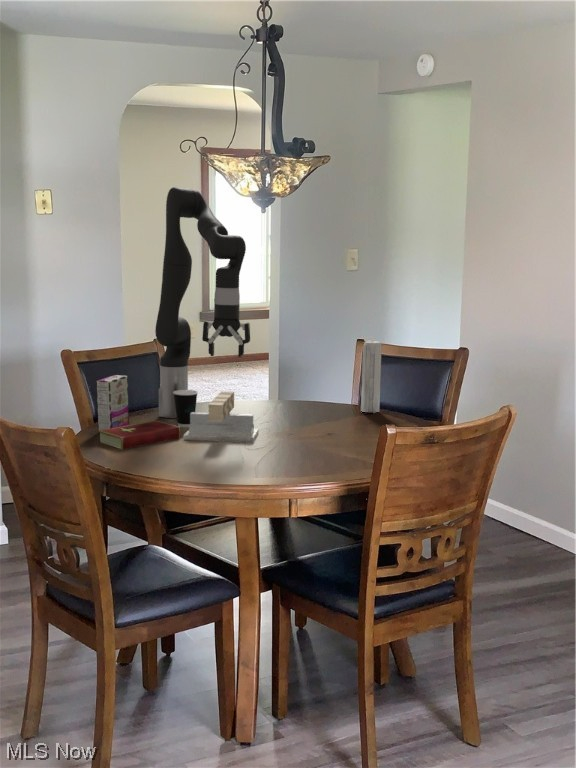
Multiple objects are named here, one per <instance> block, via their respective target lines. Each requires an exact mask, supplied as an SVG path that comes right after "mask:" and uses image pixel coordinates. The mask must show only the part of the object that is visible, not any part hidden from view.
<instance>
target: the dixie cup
mask: <svg viewBox="0 0 576 768" xmlns="http://www.w3.org/2000/svg"><path fill="white" fill-rule="evenodd" d="M173 394H174V399H175V407H176V416H177V418H176V423H177V425H178V426H179V427H180V428H189V424H190V413H191V412H196V407H197V398H198V394H199V392H198V391H197V390H193V389H188V390H177V391H174V392H173Z"/></svg>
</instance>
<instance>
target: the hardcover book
mask: <svg viewBox="0 0 576 768" xmlns="http://www.w3.org/2000/svg"><path fill="white" fill-rule="evenodd" d="M97 432H98V433H99V438H100V440H99V441H100V443H101V444H105V445H108V446H111V447H115V448H117V449H120V450H121V451H122V450H127V449H132V448H136V447H142V446H143V447H144V446H148V445H153V444H156V443H157V444H158V443H163V442H167V441H172V440H173V441H174V440H178V439H181V427H179V426H177V425H175V424H171V423H168V422H164V421H161V420H152V421H144V422H140V423H135V424H129V425H127V426H122V427H116V428H110V429H105V430H99V429H98V431H97Z"/></svg>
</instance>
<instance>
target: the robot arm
mask: <svg viewBox="0 0 576 768" xmlns="http://www.w3.org/2000/svg"><path fill="white" fill-rule="evenodd" d="M181 218H184V219H193V218H194V219H196V220H197V222H196V223H197V225H196V227H197V231H198V232H199V235H200V236H201V237H202V238H203V239H204V240H205V242H207V246H208V248H209V252H210V254H211V256H212V257H214V258H216V259H218V260H229V261H228V263H227V265H225V266H222V267H218V268H217V269H216V271H215V288H214V289H215V291H214V298H213V301H214V305H213V306H214V308H213V309H214V312H213V313H214V314H213V315H214V316H213V321H208V320H205V321H203V324H202V326H203V327H202V341H203V342H206V343H207V344H208V354H209V355H210V357H214V356H215V343H214V341H216V339H217V338H218V337H229V338H232V337H234V339H235V340H236V341H237V343H238V347H237V348H238V351H237V355H238V358H242V356H243V355H244V354H245V344H249V343H250V342H251V327H250V326H251V324H250V322H245V323H241V322H240V303H241V302H240V300H241V299H240V298H241V297H240V295H241V294H240V273H241V269H242V266H243V261H244V258H245V255H246V250H247V246H246V242H245V240H244V238H243V237H242V236H241V235H235V234H234V235H233V234H232V235H229V231H228V229H227V228H226V227H225V226H224V224H223V223H222V222H220V220H218V218H217V217H216V216H215V214H214V213H213V211H212V210H211V207H210V206H209V205H208V203H207V200H206V199H205V198H204V196H203V194H202V193H201V192H200V191H199V190H197V189H193V188H186V187H177V186H173V187H171V188H170V189H169V190H168V192H167V196H166V203H165V242H164V243H165V246H164V253H163V254H164V255H163V262H162V263H163V265H162V273H161V275H162V277H161V279H162V281H161V288H160V298H159V299H160V300H159V307H158V312H157V313H158V314H157V317H156V324H155V332H154V333H155V337H156V340H157V342H158V343H159V344H160V345H161V346H164V347H166V348H165V351H164V353H163V354H162V355H161V356H160V359H159V378H160V380H159V383H160V384H159V386H160V387H159V388H158V417H159V418H160V417H162V418H165V419H166V418H168V419H177V416H176V407H175V399H174V394H173V392H174V391H177V390H189V384H188V383H189V381H188V380H189V369H188V368H189V367H188V365H189V359H190V355H191V343H192V341H191V340H192V339H191V338H192V332H191V331H192V330H191V326H190V323H189V322H188V321H187V319H185V318H183V317H181V316H180V315H179V314H180V306H181V302H182V301H183V298H184V296H185V293H186V292H187V289H188V287H189V286H190V285H189V284H190V281H191V277H192V275H191V274H192V267H193V265H192V264H193V257H192V255H191V252H190V251H189V248H188V246H187V244H186V242H185V240H184V238H183V235H182V231H181ZM211 327H213V329H214V330H215V331H214V332H213V334H212V335H211V336H210V337H209V332H210V331H209V329H211ZM240 328H241V329H242V331H244V338H242V336H241V334H240V332H239V331H238V330H239V329H240Z"/></svg>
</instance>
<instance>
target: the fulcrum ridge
mask: <svg viewBox="0 0 576 768" xmlns="http://www.w3.org/2000/svg"><path fill="white" fill-rule="evenodd" d="M188 428H189V429H188V430H187V431H186V432H184V433H183V440H184V441H200V442H201V441H203V442H228V443H229V442H230V443H248V444H249V443H251V444H252V443H254V442H255V440H256V439H257V437H258V435H259V428H255V423H254V414H252V413H244V414H243V413H229V414H228V415H227V417H226V418H225V419H224V420H223V422H209V412H202V411H201V412H197V411H195V412H191V413H190V424H189V427H188Z"/></svg>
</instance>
